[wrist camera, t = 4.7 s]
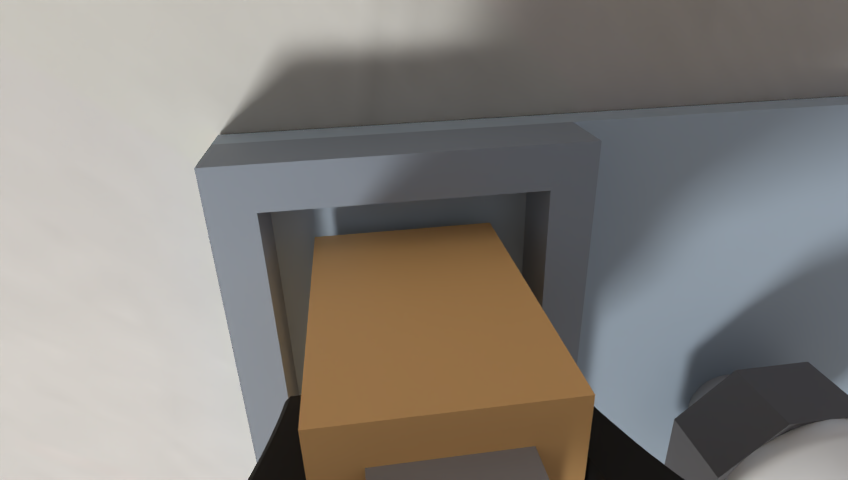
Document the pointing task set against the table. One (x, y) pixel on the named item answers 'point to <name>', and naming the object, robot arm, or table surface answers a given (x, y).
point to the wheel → (764, 428)
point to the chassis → (564, 238)
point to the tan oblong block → (435, 364)
